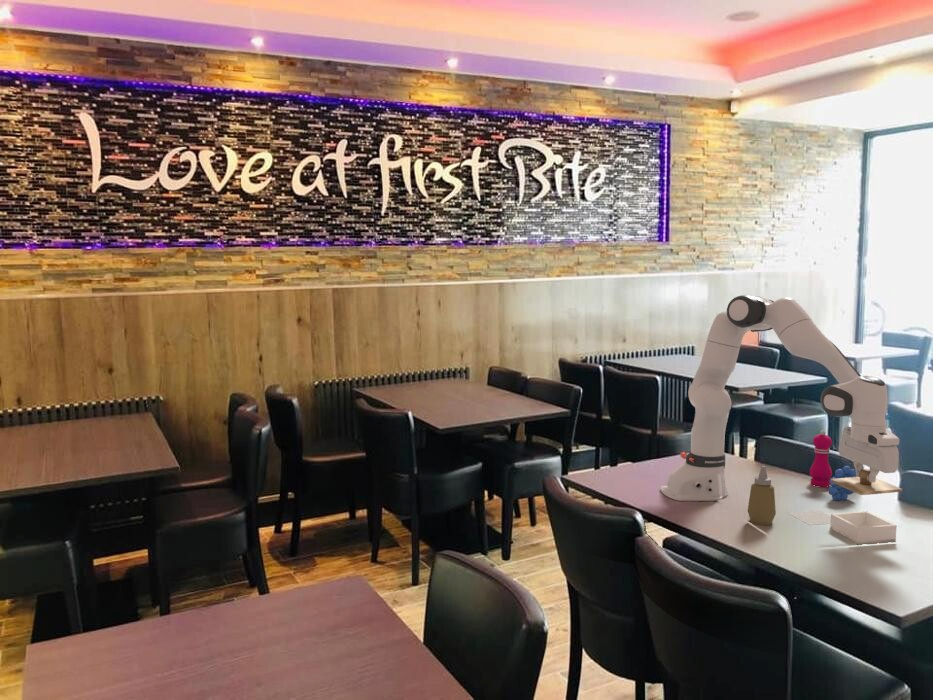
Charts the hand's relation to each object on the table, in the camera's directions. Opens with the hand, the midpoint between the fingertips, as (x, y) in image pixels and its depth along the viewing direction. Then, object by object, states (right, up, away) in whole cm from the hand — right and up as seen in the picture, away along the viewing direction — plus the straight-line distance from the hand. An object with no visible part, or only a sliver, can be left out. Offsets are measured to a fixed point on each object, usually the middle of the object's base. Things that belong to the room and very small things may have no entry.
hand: (865, 479), depth 210 cm
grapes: (+10, -13, +34) cm, 38 cm away
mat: (-7, -15, +16) cm, 23 cm away
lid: (0, -2, 0) cm, 2 cm away
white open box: (0, -17, +2) cm, 17 cm away
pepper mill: (+11, -11, +50) cm, 53 cm away
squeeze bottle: (-25, -16, +13) cm, 33 cm away
